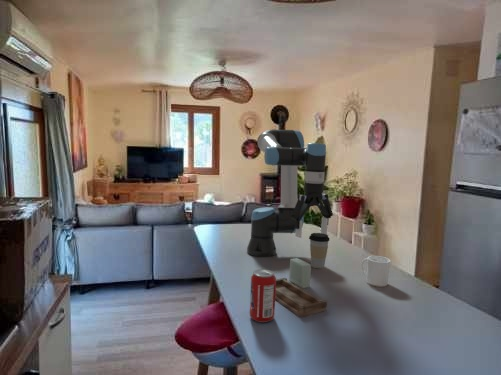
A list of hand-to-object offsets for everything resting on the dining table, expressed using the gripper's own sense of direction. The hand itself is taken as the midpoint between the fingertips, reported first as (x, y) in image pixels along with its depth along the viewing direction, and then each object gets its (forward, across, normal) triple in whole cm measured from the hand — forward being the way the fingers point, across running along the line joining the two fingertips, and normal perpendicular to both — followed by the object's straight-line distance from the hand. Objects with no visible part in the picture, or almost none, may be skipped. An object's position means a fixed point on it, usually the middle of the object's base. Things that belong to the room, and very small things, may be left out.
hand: (311, 235), depth 138 cm
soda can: (+20, -34, -16) cm, 42 cm away
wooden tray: (+20, -16, -9) cm, 27 cm away
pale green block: (+20, -4, +1) cm, 20 cm away
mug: (+20, +25, -13) cm, 34 cm away
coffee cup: (+20, +18, +14) cm, 30 cm away
